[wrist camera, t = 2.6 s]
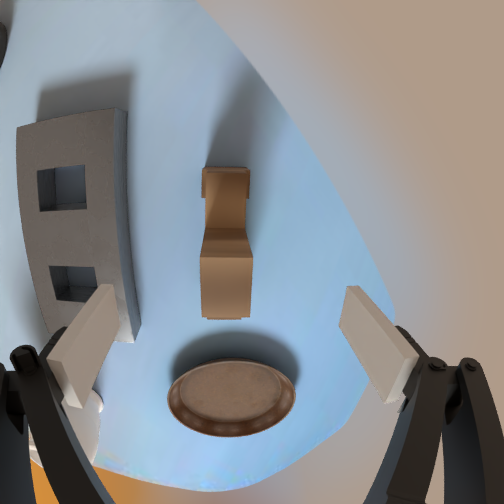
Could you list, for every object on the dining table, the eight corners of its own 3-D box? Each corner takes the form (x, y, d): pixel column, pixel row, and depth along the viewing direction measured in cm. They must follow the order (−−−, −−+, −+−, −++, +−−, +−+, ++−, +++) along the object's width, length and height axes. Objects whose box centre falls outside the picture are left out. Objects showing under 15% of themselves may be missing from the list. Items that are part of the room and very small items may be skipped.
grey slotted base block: (34, 127, 22) (16, 127, 19) (127, 111, 24) (114, 107, 20) (60, 317, 31) (48, 332, 27) (141, 324, 32) (134, 342, 29)
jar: (81, 368, 34) (46, 446, 20) (121, 411, 38) (104, 486, 24) (43, 379, 34) (10, 443, 20) (81, 417, 38) (60, 481, 24)
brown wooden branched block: (204, 166, 27) (190, 182, 14) (246, 167, 27) (266, 183, 15) (204, 283, 31) (197, 365, 19) (241, 283, 31) (254, 365, 19)
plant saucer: (313, 389, 39) (318, 403, 37) (225, 435, 42) (226, 449, 39) (238, 322, 33) (240, 337, 31) (145, 384, 36) (141, 399, 33)
